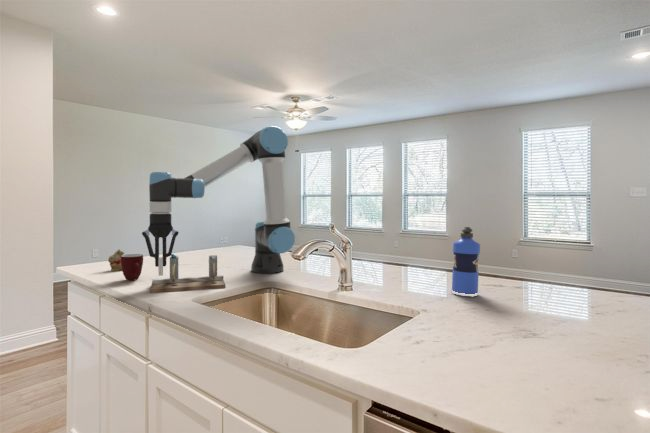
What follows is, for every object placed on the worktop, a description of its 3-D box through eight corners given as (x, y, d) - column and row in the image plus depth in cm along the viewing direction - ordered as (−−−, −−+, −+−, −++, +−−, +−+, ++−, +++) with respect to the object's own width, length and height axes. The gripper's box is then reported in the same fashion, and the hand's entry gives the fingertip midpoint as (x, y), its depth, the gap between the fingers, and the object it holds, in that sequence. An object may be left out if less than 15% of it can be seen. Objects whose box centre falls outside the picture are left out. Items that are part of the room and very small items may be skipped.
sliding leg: (178, 276, 142) (178, 253, 141) (177, 281, 135) (177, 256, 134) (170, 277, 141) (170, 253, 140) (169, 281, 134) (169, 257, 133)
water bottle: (478, 292, 137) (481, 226, 136) (477, 298, 129) (480, 228, 128) (452, 289, 141) (454, 225, 140) (450, 295, 133) (452, 227, 131)
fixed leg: (216, 274, 147) (216, 255, 147) (218, 278, 140) (218, 258, 139) (208, 275, 146) (208, 255, 146) (209, 279, 139) (210, 258, 138)
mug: (150, 280, 148) (150, 256, 147) (129, 283, 141) (129, 258, 141) (137, 276, 154) (137, 253, 153) (117, 279, 148) (117, 255, 147)
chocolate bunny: (113, 269, 169) (113, 247, 169) (130, 268, 170) (130, 247, 170) (107, 271, 164) (107, 249, 163) (125, 271, 165) (125, 249, 164)
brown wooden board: (222, 280, 149) (222, 274, 149) (225, 287, 138) (225, 280, 138) (153, 285, 140) (153, 278, 140) (150, 292, 129) (150, 285, 129)
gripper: (179, 212, 143) (179, 272, 144) (142, 212, 138) (143, 273, 139) (178, 213, 136) (179, 275, 137) (140, 213, 131) (140, 278, 132)
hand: (160, 274), depth 138 cm, fingers closed
